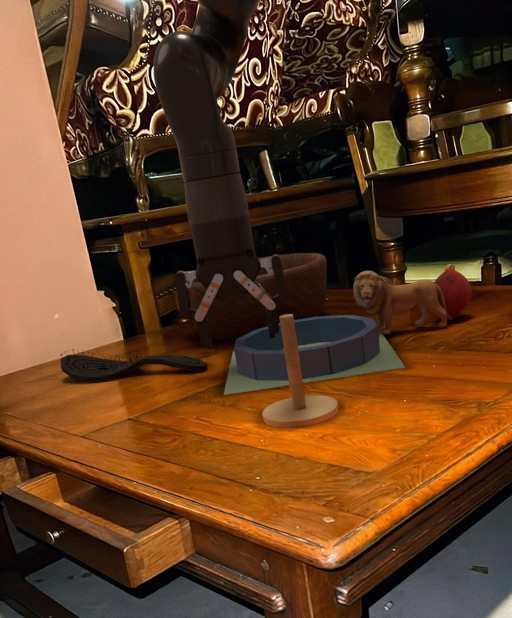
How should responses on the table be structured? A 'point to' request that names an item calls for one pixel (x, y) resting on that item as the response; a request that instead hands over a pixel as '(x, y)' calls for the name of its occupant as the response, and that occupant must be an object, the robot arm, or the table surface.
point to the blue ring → (313, 360)
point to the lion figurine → (398, 298)
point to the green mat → (377, 364)
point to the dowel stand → (297, 390)
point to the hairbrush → (121, 365)
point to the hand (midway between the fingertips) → (241, 342)
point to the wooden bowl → (252, 313)
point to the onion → (454, 291)
